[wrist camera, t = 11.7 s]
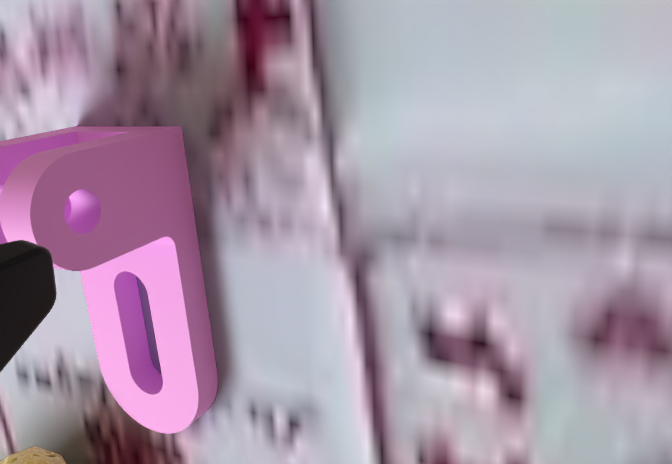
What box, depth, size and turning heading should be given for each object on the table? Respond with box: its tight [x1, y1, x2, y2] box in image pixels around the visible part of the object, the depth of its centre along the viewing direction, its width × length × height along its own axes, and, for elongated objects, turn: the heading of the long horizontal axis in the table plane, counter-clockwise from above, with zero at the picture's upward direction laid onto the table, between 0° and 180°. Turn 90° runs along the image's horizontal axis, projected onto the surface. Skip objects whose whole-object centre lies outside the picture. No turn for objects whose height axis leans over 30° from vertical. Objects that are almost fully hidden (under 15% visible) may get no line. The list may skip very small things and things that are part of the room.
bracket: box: [0, 126, 218, 434], centre depth 24 cm, size 13×6×7 cm, turn 6°
